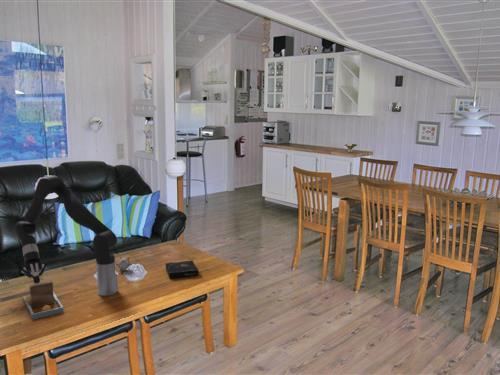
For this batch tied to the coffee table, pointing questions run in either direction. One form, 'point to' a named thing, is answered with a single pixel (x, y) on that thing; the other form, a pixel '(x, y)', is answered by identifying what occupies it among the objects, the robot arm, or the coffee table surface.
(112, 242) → the robot arm
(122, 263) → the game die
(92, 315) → the coffee table surface
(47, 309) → the ball
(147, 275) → the coffee table surface
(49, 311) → the blue-grey rectangular frame
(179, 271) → the portable cd player
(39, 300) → the board
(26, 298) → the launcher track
